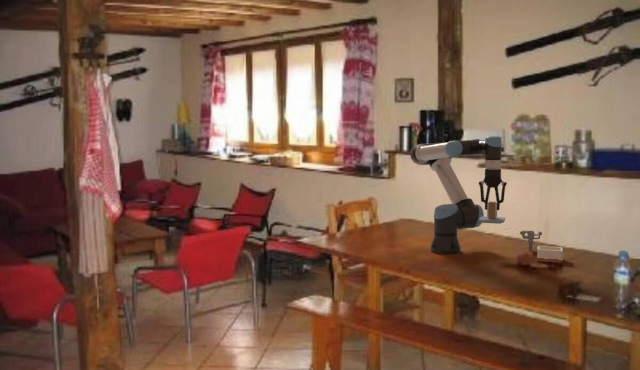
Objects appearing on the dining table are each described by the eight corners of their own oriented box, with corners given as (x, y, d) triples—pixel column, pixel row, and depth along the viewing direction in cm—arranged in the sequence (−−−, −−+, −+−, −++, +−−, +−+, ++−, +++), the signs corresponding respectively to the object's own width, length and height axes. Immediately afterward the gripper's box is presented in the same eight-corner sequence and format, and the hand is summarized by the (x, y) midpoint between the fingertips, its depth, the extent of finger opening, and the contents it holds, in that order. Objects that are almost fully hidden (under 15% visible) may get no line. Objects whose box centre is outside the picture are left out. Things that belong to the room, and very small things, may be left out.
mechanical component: (541, 251, 321) (542, 232, 320) (520, 251, 323) (520, 231, 322) (540, 250, 324) (541, 230, 322) (519, 249, 326) (520, 230, 324)
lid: (478, 223, 309) (478, 203, 308) (480, 220, 317) (481, 200, 316) (503, 224, 305) (503, 204, 304) (505, 221, 313) (505, 201, 312)
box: (536, 261, 301) (537, 249, 300) (537, 258, 308) (538, 245, 308) (561, 263, 297) (562, 251, 296) (562, 259, 304) (562, 247, 304)
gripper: (474, 168, 307) (474, 217, 310) (509, 169, 301) (508, 218, 304) (476, 167, 314) (476, 214, 317) (511, 168, 308) (509, 216, 311)
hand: (492, 216), depth 311 cm, fingers closed on lid, 3 cm apart
